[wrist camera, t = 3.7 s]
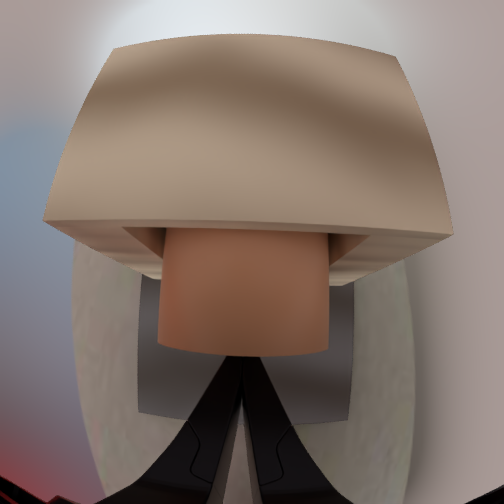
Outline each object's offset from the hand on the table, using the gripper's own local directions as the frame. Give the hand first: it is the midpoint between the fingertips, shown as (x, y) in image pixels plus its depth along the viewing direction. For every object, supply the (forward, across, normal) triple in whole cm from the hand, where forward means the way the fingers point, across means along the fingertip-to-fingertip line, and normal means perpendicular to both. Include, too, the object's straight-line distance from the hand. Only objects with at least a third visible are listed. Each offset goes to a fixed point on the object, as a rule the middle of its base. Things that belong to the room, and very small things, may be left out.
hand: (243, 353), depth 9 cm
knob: (+5, 0, 0) cm, 5 cm away
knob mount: (+8, 0, +3) cm, 9 cm away
